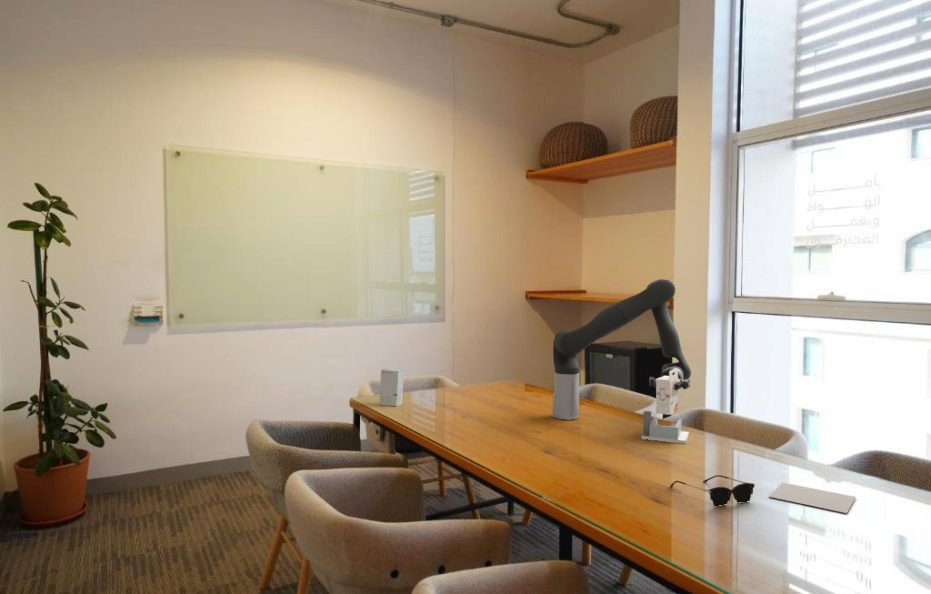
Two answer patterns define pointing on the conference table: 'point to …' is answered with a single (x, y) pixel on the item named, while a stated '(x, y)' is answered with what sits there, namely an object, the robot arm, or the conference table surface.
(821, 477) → the conference table surface
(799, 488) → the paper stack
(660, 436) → the keeper cradle
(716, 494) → the sunglasses
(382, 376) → the skincare box
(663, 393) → the ink cartridge box
